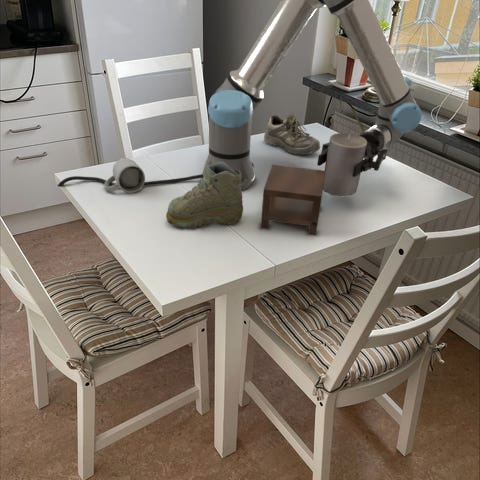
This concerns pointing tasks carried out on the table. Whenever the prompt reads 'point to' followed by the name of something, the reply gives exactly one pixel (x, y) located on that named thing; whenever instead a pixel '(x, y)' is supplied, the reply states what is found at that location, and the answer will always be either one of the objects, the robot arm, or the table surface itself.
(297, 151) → the hiking shoe
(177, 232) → the table surface
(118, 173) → the ceramic mug
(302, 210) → the shelf rack
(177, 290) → the table surface
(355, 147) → the pillar candle
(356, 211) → the table surface
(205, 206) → the sneaker
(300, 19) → the robot arm
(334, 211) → the table surface
